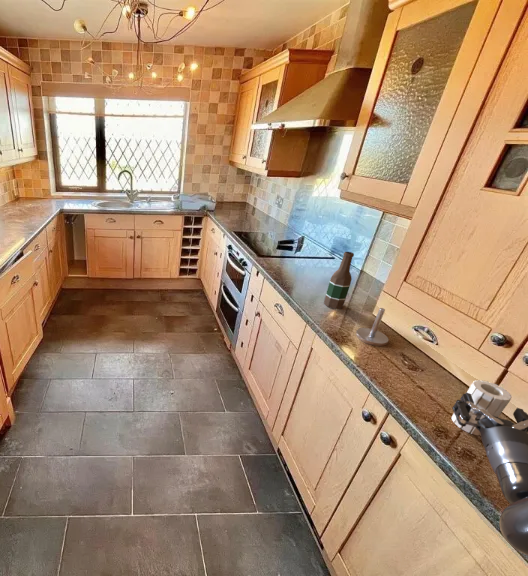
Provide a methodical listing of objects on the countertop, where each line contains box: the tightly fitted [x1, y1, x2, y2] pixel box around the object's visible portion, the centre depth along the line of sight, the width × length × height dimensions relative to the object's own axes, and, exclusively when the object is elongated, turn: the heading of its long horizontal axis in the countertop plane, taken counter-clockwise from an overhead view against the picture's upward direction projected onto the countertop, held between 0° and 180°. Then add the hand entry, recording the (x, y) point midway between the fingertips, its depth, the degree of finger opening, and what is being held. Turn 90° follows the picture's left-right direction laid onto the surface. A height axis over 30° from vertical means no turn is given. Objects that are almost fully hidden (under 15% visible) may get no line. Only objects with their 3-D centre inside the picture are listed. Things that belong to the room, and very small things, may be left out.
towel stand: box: [355, 307, 389, 347], centre depth 109 cm, size 10×10×12 cm
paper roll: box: [450, 379, 512, 437], centre depth 75 cm, size 6×6×12 cm
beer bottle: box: [323, 251, 355, 310], centre depth 127 cm, size 8×8×24 cm
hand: (490, 403), depth 72 cm, fingers open, 8 cm apart
